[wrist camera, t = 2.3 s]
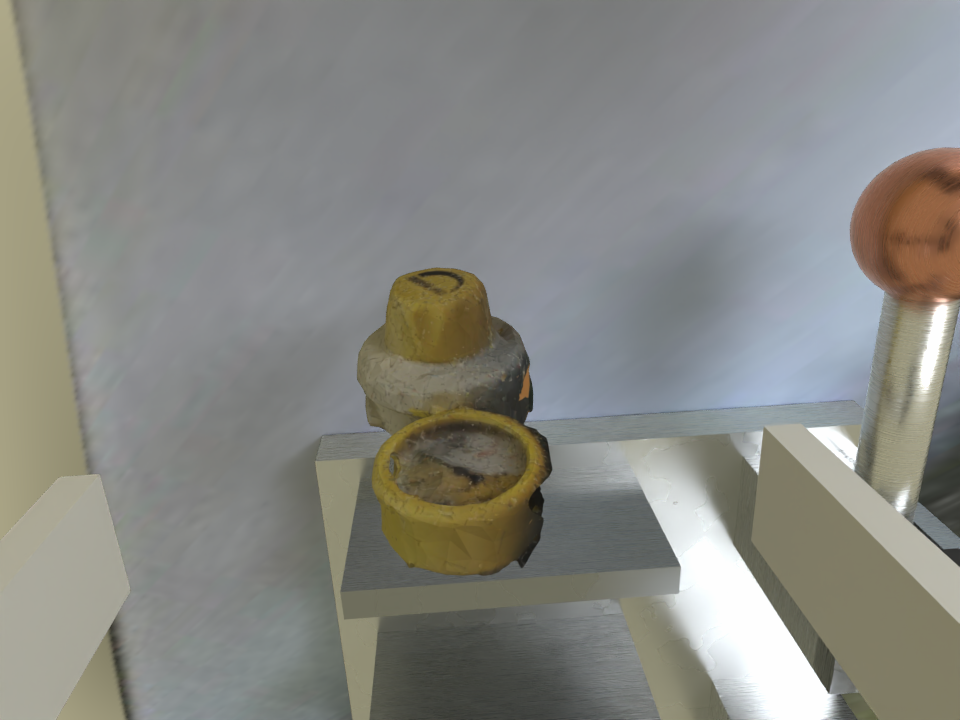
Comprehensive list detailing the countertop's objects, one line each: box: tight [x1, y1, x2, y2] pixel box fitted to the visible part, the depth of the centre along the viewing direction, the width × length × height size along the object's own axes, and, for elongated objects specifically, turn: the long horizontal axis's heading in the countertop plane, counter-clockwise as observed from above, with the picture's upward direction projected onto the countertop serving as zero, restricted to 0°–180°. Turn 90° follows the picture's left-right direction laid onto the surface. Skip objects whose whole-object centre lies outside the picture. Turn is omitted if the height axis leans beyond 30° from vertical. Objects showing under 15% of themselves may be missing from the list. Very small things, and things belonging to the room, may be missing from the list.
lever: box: [850, 148, 960, 524], centre depth 21 cm, size 14×4×4 cm, turn 2°
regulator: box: [357, 268, 552, 576], centre depth 19 cm, size 8×4×15 cm, turn 4°
